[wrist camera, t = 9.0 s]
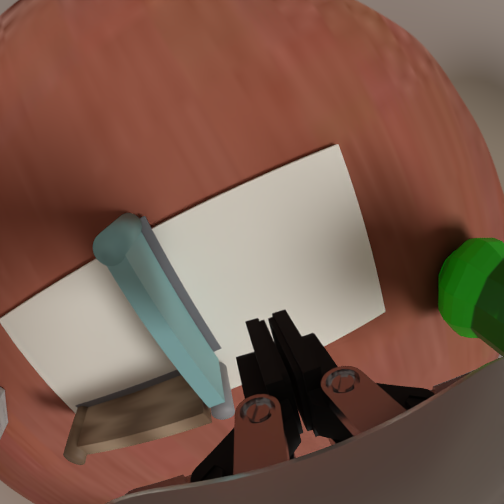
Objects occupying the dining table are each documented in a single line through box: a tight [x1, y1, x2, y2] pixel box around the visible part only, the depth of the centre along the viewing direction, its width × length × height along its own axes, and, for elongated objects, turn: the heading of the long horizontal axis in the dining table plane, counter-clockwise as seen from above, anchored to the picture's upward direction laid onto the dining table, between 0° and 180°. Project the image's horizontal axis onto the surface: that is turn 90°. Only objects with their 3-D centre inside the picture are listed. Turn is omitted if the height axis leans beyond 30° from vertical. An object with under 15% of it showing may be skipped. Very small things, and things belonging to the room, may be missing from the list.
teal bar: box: [93, 213, 235, 419], centre depth 18 cm, size 15×2×5 cm, turn 23°
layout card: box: [0, 144, 385, 413], centre depth 21 cm, size 31×16×1 cm, turn 113°
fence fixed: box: [63, 375, 212, 465], centre depth 20 cm, size 14×2×6 cm, turn 113°
